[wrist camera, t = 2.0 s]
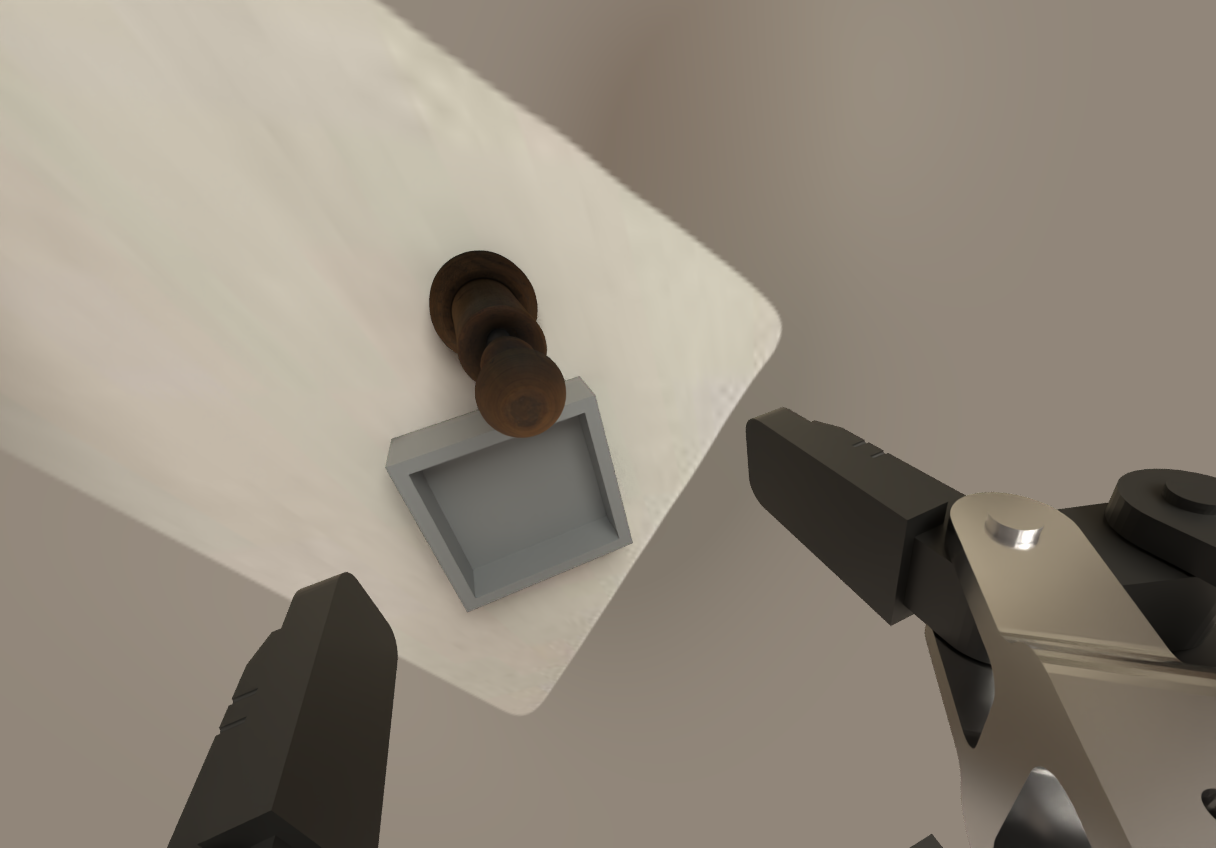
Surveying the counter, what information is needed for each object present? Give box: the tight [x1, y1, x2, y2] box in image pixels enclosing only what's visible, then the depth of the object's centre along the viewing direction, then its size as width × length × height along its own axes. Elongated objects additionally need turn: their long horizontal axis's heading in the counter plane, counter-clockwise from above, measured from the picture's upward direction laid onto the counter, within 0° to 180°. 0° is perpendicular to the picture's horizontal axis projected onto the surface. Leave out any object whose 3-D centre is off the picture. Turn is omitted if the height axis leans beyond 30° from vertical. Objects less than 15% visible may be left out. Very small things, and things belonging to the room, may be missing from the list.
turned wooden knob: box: [429, 251, 566, 438], centre depth 22 cm, size 7×6×18 cm
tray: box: [385, 376, 633, 612], centre depth 34 cm, size 14×14×4 cm
